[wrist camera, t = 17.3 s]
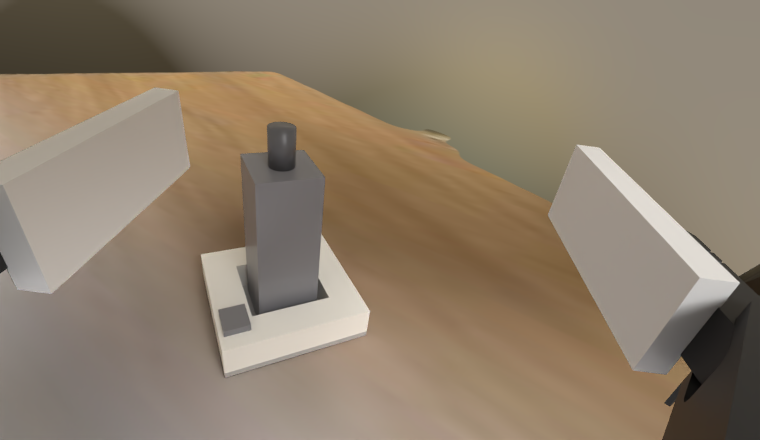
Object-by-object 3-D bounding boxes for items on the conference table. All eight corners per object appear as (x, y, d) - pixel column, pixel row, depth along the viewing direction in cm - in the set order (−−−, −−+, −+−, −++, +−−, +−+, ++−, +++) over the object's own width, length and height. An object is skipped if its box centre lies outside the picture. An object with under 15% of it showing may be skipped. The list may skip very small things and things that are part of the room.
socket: (320, 256, 45) (321, 229, 43) (365, 335, 36) (370, 306, 34) (203, 278, 39) (200, 249, 37) (225, 377, 30) (221, 346, 29)
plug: (299, 279, 40) (305, 114, 31) (315, 314, 36) (327, 138, 28) (248, 290, 38) (238, 115, 29) (260, 328, 34) (253, 142, 25)
